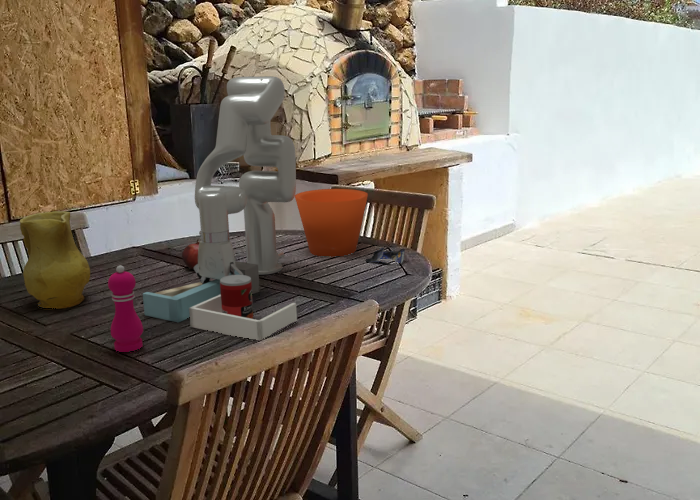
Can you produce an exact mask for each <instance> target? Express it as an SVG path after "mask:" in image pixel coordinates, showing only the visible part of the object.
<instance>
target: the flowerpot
mask: <svg viewBox="0 0 700 500" xmlns="http://www.w3.org/2000/svg"><path fill="white" fill-rule="evenodd" d="M368 197H369V193H368V192H366V191H363V190H359V189H351V188H322V189H321V188H320V189H312V190H307V191H306V190H305V191H301V192H298V193H297V194H296V193H295V196H294V198H295V202H296V206H297V209H298V214H299V218H300V221H301V224H302V228H303V232H304V235H305V239H306V243H307V246H308V250H309V253H310V254H311V255H313V256H316V255H317V257H321V256H331V257H330V258H336V257H335V256H340V257H345V256H344V255H347V256H349V255H348V254H350V255H352V254H351V253H353V254H354V252H355V251H357V247H358V242H359V237H360V233H361V228H362V224H363V219H364V214H365V210H366V206H367V205H366V204H367V200H368ZM355 253H356V252H355Z"/></svg>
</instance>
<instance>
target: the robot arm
mask: <svg viewBox="0 0 700 500" xmlns="http://www.w3.org/2000/svg"><path fill="white" fill-rule="evenodd" d="M285 89H286V88H285V84H284V83H283V80H282V79H281V78H279V77H277V76H270V75H269V76H266V75H265V76H254V75H253V76H251V75H250V76H237V77H233V78H231V79H229V80H228V81H227V83H226V92H227V96H225V97H224V98H223V99H222V100H221V101H220V105H219V113H218V114H219V115H218V122H217V123H218V124H217V131H216V140H215V141H216V142H215V147H214V149H213V150H212V151H211V152H210V153H209V154H208V155H207V157H206V158H205V159H204V161H203V162H202V164H201V165H200V167H199V169H198V171H197V172H196V173H197V174H196V180H195V186H194V203H195V207H196V208H197V209H198V211H199V223H200V224H199V225H200V231H199V233H198V234H199V236H201V240H200V241H198V242H199V248H198V264H197V265H195V266H194V269H193V270H194V272H195V273H196V276H197V278H198V279H199V282H201V283H202V285H203V284H205V283H208V282H210V281H211V279H213V280H215V279H218V280H220V279H221V278H223V277H225V276H230V275H243V273H242V272H241V271H240V270H239V269H238V268H237V267H236V265H235V261H236V258H235V252H234V247H233V244H232V241H231V240H230V238H231V237H230V227H229V226H230V224H229V223H230V222H229V215H233V214H238V213H240V212H242V211H243V217H244V218H243V219H244V237H245V252H246V263H250V264H257V265H258V272H259V275H260V276H263V275H265V276H266V275H272V274H276V273H278V272H281V271H282V270H283V264H282V263H280V262H279V260H281V259H283V258H285V253H284V252H283V251H280V252H277V250H278V249H277V235H276V232H277V230H276V215H275V213H274V210H273V208H272V206H271V205H270V203H281V204H282V203H290V202H292V201H293V200H294V198H295V195H296V192H297V174H296V173H297V172H296V170H297V165H296V164H297V163H296V161H297V160H296V158H297V157H296V147H295V144H294V141H293V139H292V138H291V137H289V136H287V135H279V134H278V135H276V134H275V135H274V134H273V135H272V130H271V129H272V127H271V120H272V119H273V118H274V117H275V114H276V113H277V111H278V110H279V108H280V107H281V105H282V103H283V101H284V99H285V94H286V93H285V91H286V90H285ZM242 156H243V160H244V162H245V163H246V164H247V165H249V166H252V167H263V168H264V167H269V168H270V167H272V168H276V169H277V170H278V171H273V170H250V171H247V172H245V173H243V174H242V175H241V176H240V178H239V182H238V186H236V185H235V186H234V185H211V184H212V180H213V177H214V175H216V174H215V173H216V172H217V171H218V170H219V169H220V168H221V167H223V166H224V165H225V164H228V163H229V162H232V161H234V160H236V159H238V158H241V157H242Z"/></svg>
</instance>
